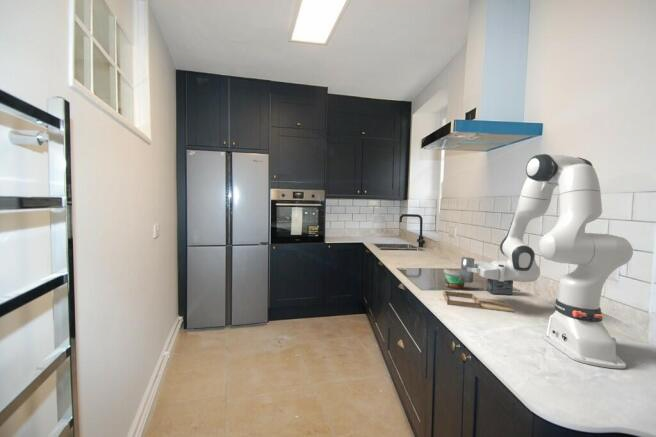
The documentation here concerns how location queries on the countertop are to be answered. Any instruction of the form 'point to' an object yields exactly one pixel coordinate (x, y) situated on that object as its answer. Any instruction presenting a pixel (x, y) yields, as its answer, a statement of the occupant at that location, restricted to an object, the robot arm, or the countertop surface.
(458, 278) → the food container
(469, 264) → the slate tin
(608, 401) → the countertop surface
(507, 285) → the small box
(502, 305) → the wooden tray board
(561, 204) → the robot arm
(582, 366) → the countertop surface
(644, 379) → the countertop surface
